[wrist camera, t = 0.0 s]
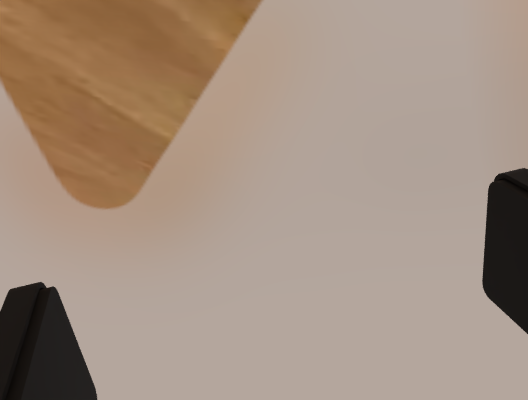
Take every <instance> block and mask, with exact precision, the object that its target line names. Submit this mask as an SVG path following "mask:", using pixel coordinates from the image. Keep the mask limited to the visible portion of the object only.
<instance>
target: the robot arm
mask: <svg viewBox="0 0 528 400" xmlns="http://www.w3.org/2000/svg"><path fill="white" fill-rule="evenodd" d="M482 281H483V288H484V291H485V293H486V295H487V296H488V297H489V299H490V300H491V301H493V302H494V303H495V304H496V305H497V306H498V307H499V308H500V309H501V310H502V311H503V312H505V313H506V314H507V315H508V316H509V317H510V318H511V319H512V320H513V321H514V322H515V323H516V324H517V325H519V326H520V327H521V328H522V329H523V330H524V331H525V332H526V333H527V334H528V169H525V168H522V169H518V170H514V171H509V172H505V173H501V174H498V175H497V176H496V177H495V179H494V182H492V183H491V184H490V186H489V189H488V203H487V218H486V234H485V249H484V265H483V280H482ZM0 400H97V394H96V389H95V386H94V383H93V381H92V378H91V376H90V373H89V371H88V368H87V365H86V363H85V361H84V358H83V355H82V353H81V350H80V348H79V345H78V342H77V340H76V337H75V335H74V332H73V329H72V327H71V324H70V322H69V319H68V317H67V314H66V312H65V309H64V306H63V304H62V301H61V299H60V296H59V293H58V291H57V290H56V288H55V287H49V288H46V286H45V285H44V283H42V282H38V283H34V284H30V285H26V286H21V287H17V288H13V289H10V290H9V292H8V294H7V296H6V299H5V301H4V304H3V306H2V309H1V311H0Z"/></svg>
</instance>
